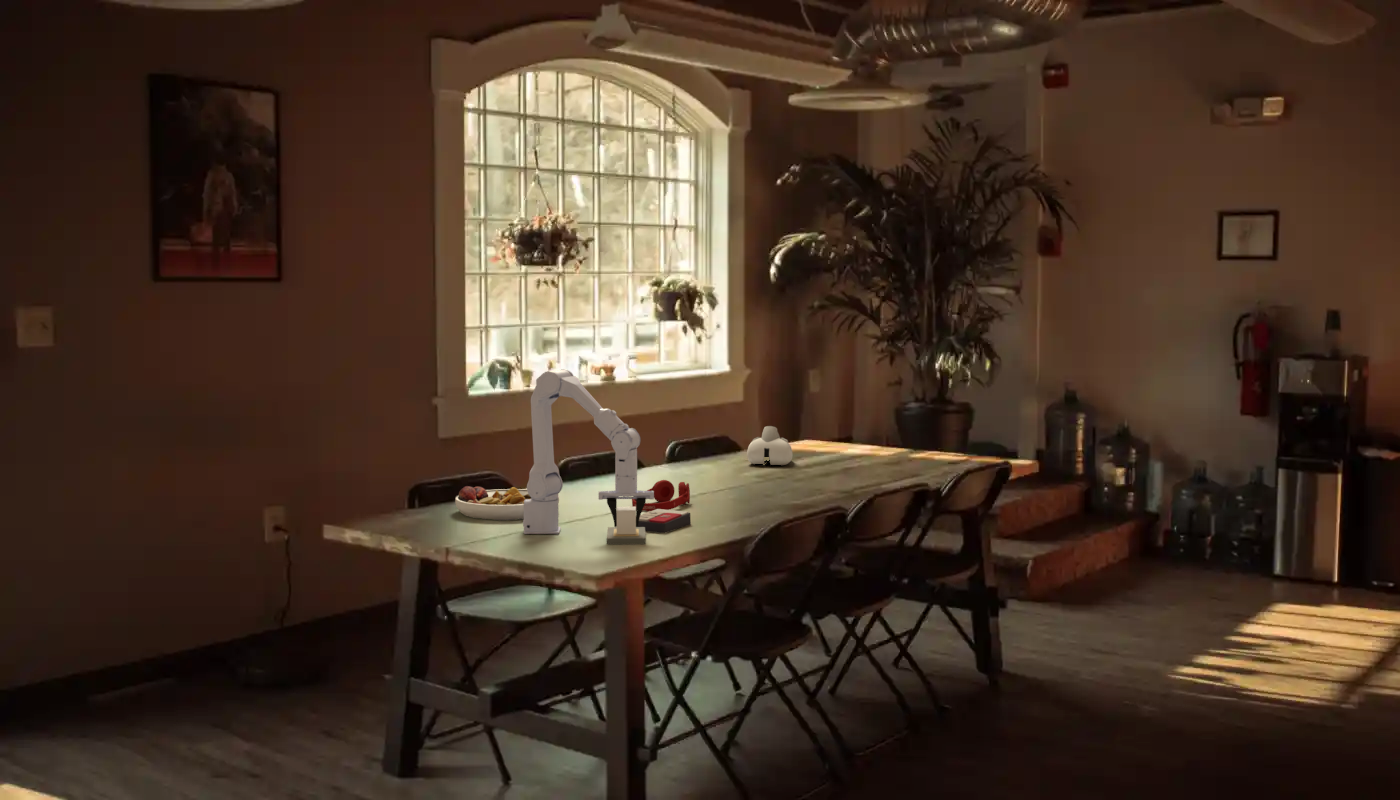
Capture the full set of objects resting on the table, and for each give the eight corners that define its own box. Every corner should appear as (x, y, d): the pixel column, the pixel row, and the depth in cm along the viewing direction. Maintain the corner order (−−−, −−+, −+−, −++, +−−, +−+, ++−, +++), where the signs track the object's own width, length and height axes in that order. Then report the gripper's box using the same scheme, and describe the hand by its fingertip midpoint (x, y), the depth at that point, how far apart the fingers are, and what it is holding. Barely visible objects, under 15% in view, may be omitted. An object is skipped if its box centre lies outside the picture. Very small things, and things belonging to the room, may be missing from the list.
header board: (606, 544, 352) (606, 525, 351) (607, 532, 367) (607, 514, 367) (645, 544, 352) (645, 524, 352) (645, 532, 368) (645, 514, 367)
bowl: (566, 505, 413) (566, 480, 412) (549, 523, 383) (549, 495, 382) (468, 504, 415) (468, 478, 414) (444, 521, 385) (444, 494, 384)
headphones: (660, 498, 424) (623, 516, 407) (658, 476, 422) (621, 493, 406) (700, 502, 416) (664, 521, 399) (699, 480, 414) (662, 498, 398)
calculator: (629, 517, 372) (656, 506, 385) (630, 533, 373) (657, 521, 386) (664, 521, 367) (690, 510, 380) (665, 536, 368) (691, 525, 381)
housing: (616, 534, 355) (616, 511, 355) (617, 528, 363) (617, 506, 363) (635, 534, 356) (635, 511, 355) (635, 528, 364) (635, 506, 363)
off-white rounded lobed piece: (814, 465, 504) (815, 425, 503) (765, 469, 491) (765, 429, 490) (778, 458, 522) (778, 420, 521) (729, 462, 509) (729, 424, 508)
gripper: (598, 477, 354) (598, 529, 355) (653, 477, 355) (653, 528, 356) (598, 473, 361) (599, 524, 362) (653, 473, 362) (653, 524, 363)
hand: (626, 526), depth 359 cm, fingers closed on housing, 5 cm apart
